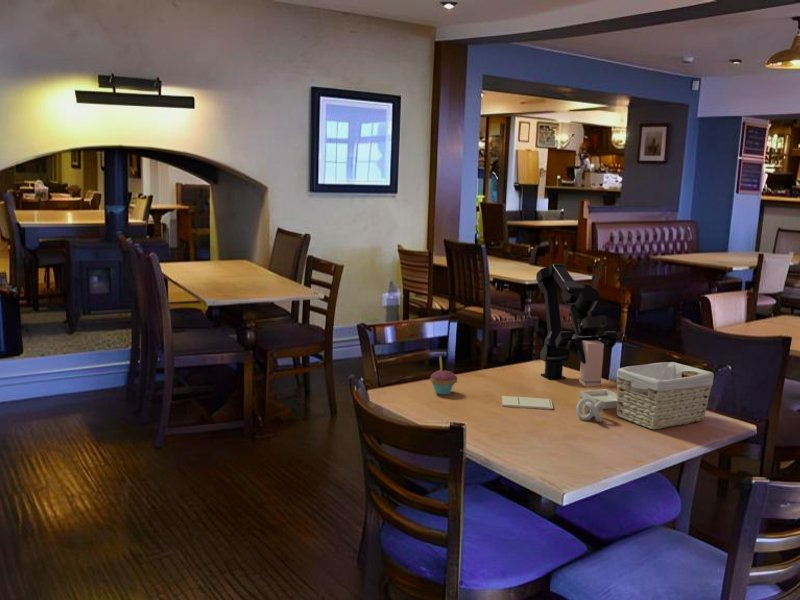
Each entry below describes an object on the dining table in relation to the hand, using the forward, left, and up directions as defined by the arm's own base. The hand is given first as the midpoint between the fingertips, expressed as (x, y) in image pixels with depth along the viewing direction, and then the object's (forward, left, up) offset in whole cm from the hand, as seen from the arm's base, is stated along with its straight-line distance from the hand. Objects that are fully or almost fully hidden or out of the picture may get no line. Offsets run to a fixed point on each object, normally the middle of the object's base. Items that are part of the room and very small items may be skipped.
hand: (593, 363), depth 214 cm
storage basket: (+16, +13, -14) cm, 25 cm away
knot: (+12, -8, -14) cm, 20 cm away
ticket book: (-7, -18, -13) cm, 23 cm away
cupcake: (-24, -39, -14) cm, 47 cm away
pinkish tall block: (-1, 0, -7) cm, 7 cm away
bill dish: (-2, +6, -13) cm, 15 cm away
